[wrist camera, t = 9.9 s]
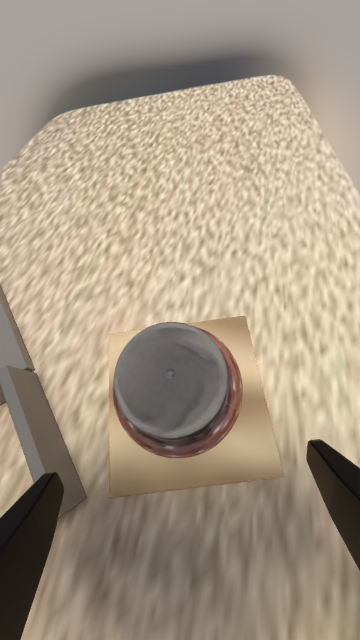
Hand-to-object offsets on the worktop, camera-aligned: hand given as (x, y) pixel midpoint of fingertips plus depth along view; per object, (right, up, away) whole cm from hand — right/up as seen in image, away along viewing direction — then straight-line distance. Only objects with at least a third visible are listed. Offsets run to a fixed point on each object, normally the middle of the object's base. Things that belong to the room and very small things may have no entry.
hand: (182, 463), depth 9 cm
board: (0, -1, +11) cm, 11 cm away
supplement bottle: (0, -1, +10) cm, 10 cm away
